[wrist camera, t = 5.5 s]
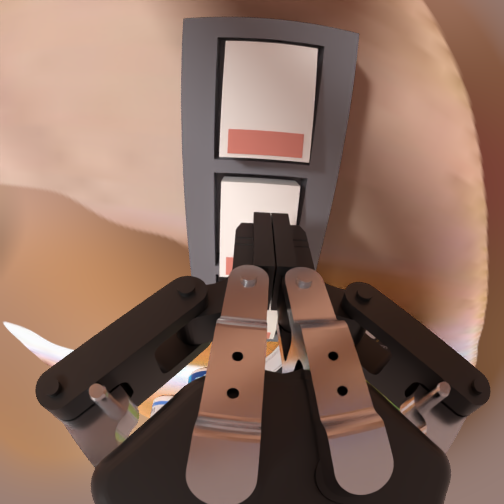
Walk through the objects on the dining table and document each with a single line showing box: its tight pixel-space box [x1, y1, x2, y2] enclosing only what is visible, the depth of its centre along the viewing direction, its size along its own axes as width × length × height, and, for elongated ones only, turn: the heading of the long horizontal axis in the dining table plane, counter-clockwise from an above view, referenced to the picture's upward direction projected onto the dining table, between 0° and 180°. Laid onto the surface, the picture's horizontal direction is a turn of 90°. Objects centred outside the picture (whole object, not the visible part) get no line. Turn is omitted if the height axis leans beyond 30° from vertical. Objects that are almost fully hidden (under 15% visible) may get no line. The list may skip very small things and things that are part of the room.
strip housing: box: [181, 17, 359, 342], centre depth 20 cm, size 25×9×4 cm, turn 177°
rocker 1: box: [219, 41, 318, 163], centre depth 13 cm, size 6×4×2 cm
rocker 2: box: [219, 176, 300, 277], centre depth 18 cm, size 6×4×2 cm
